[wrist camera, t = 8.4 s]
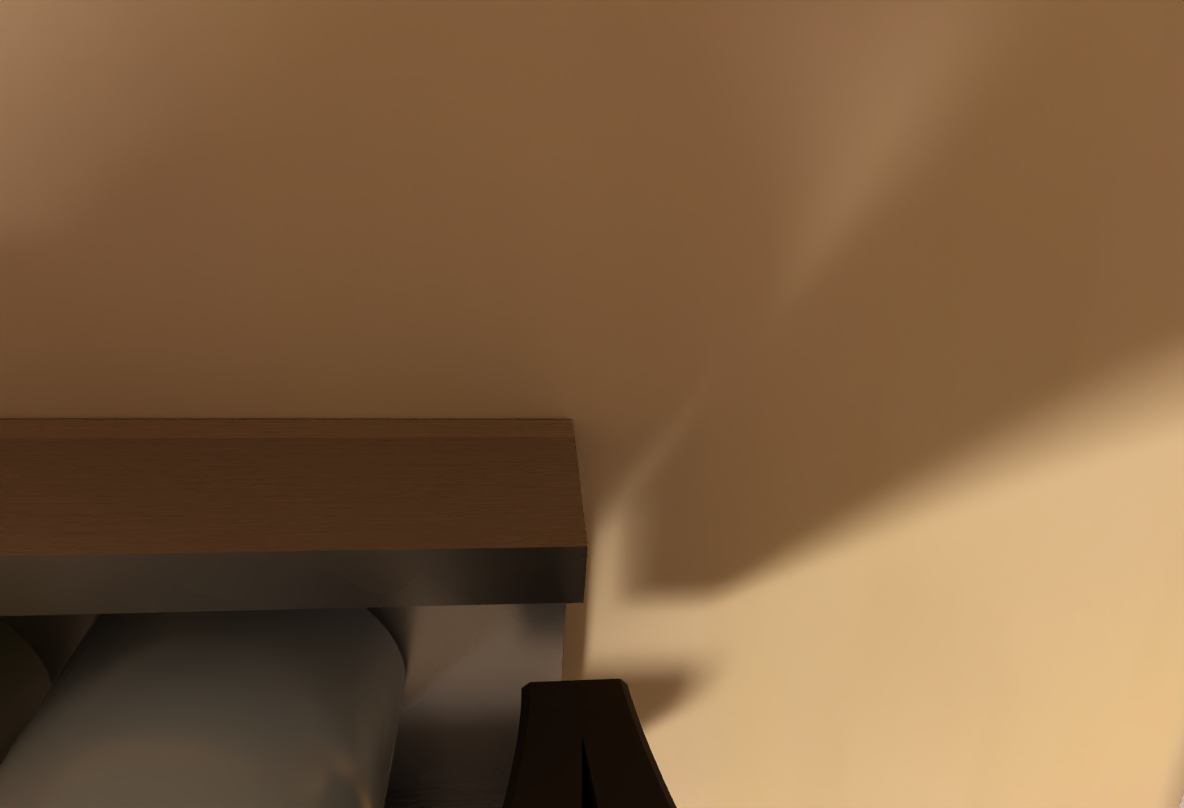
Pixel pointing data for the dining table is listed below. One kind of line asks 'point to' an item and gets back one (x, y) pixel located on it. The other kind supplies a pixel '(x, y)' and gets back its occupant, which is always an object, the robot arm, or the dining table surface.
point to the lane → (317, 553)
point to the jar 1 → (18, 685)
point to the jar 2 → (216, 714)
